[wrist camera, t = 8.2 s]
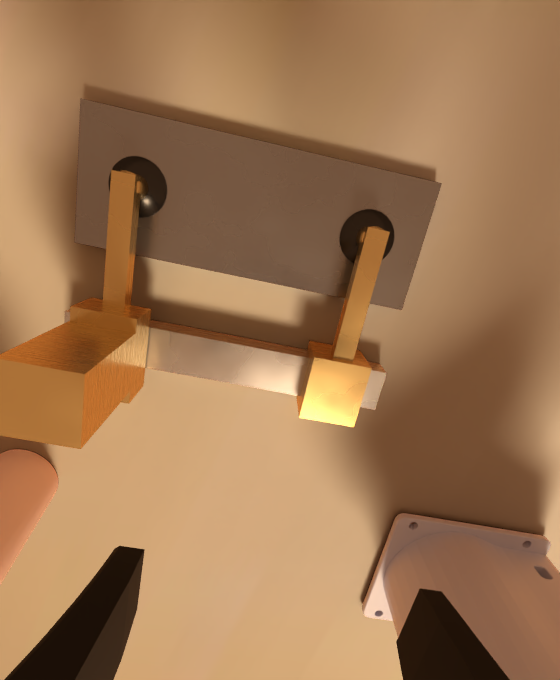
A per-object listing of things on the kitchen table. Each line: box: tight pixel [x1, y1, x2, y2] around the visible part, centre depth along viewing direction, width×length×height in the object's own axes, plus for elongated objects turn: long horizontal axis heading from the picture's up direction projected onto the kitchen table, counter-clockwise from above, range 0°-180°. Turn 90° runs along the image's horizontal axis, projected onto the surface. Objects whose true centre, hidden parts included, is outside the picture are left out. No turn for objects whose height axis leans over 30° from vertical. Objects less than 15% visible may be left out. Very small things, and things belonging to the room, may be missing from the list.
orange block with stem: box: [0, 170, 151, 449], centre depth 14 cm, size 3×9×7 cm, turn 168°
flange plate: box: [75, 99, 442, 310], centre depth 16 cm, size 15×6×1 cm, turn 78°
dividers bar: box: [65, 226, 390, 427], centre depth 17 cm, size 15×9×2 cm, turn 78°
